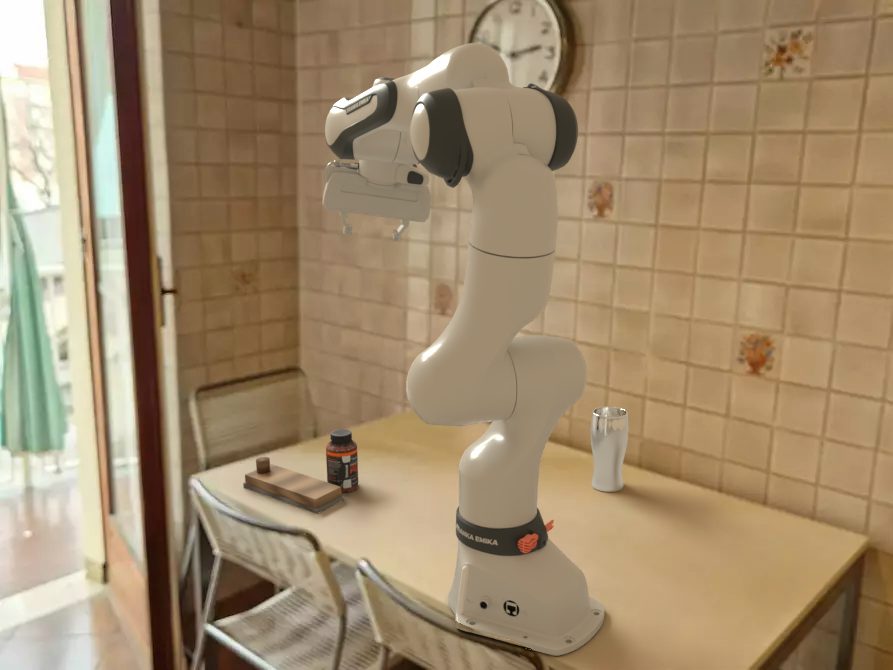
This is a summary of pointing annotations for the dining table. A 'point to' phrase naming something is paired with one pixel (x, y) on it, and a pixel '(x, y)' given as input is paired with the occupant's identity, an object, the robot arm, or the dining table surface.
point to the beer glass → (608, 447)
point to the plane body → (292, 487)
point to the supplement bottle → (342, 460)
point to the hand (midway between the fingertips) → (371, 237)
